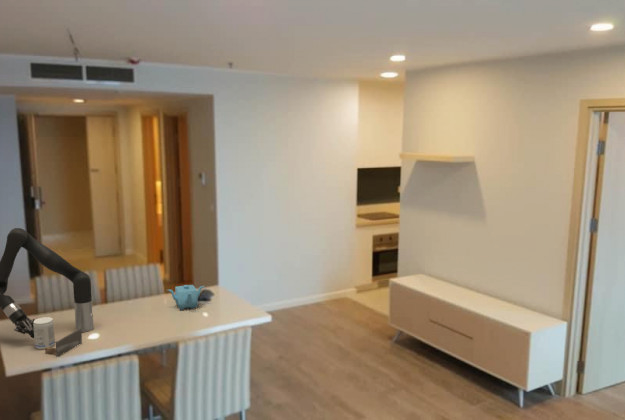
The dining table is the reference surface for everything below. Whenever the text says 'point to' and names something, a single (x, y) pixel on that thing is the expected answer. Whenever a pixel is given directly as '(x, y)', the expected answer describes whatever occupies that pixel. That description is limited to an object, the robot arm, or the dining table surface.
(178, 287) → the teakettle
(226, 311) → the dining table surface
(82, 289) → the robot arm
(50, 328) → the supplement tub
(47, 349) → the walnut dock
